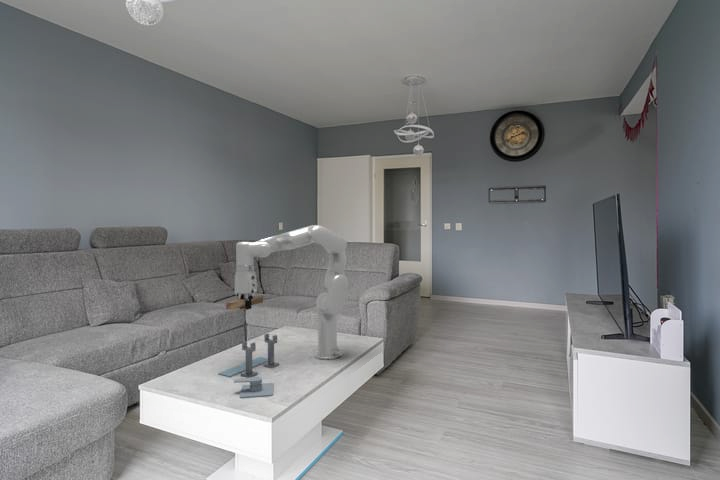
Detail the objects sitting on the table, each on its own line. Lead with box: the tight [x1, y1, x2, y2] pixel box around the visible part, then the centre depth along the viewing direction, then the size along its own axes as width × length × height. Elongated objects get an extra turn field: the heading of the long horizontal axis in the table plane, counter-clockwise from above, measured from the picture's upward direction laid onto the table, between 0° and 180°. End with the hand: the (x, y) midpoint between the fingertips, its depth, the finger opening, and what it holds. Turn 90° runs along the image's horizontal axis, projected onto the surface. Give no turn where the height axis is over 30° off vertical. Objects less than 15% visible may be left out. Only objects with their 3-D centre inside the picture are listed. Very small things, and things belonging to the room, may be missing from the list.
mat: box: [218, 356, 268, 378], centre depth 192 cm, size 7×26×1 cm, turn 150°
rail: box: [225, 295, 264, 310], centre depth 191 cm, size 3×20×3 cm, turn 150°
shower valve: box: [233, 376, 275, 399], centre depth 164 cm, size 12×6×15 cm
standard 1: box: [240, 340, 258, 378], centre depth 181 cm, size 6×5×14 cm
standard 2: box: [262, 333, 280, 369], centre depth 193 cm, size 6×5×14 cm
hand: (245, 308), depth 191 cm, fingers closed on rail, 3 cm apart
